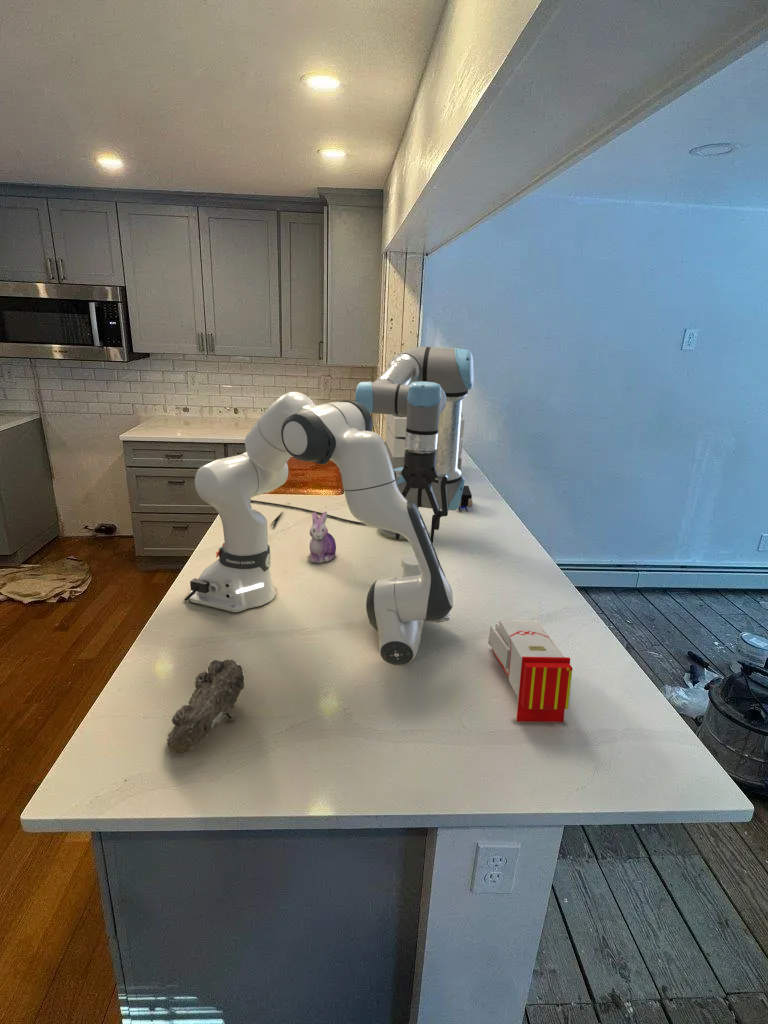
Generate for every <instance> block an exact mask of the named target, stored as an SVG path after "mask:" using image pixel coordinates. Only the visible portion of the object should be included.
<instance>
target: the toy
mask: <svg viewBox="0 0 768 1024" xmlns="http://www.w3.org/2000/svg"><path fill="white" fill-rule="evenodd" d="M488 646H490V648H491V651H492V653H493V655H494V656H495V658H496V660H497V661H498V663H499V665H500V666H501V668H502V670H503V672H504V673H505V676H506V678H508V681H509V683H510V685H511V687H512V689H513V692H514V694H515V695H516V697H517V708H516V709H517V710H516V722H519V723H520V722H521V723H522V722H523V723H525V722H526V723H564V720H565V712H566V710H569V704H570V703H569V702H570V695H571V685H572V677H573V667H572V665H571V658H570V657H568V656H567V657H566V656H564V654H563V653H562V652H561V650H560V649H559V648H558V646H557V645H556V644H555V642H554V641H553V640H552V638H551V637H550V636H549V634H548V633H547V631H546V630H545V629H544V626H543V625H541V624H540V622H539V620H536V619H535V620H531V619H528V620H527V619H499V620H498V622H495V626H494V625H490V627H489V635H488Z"/></svg>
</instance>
